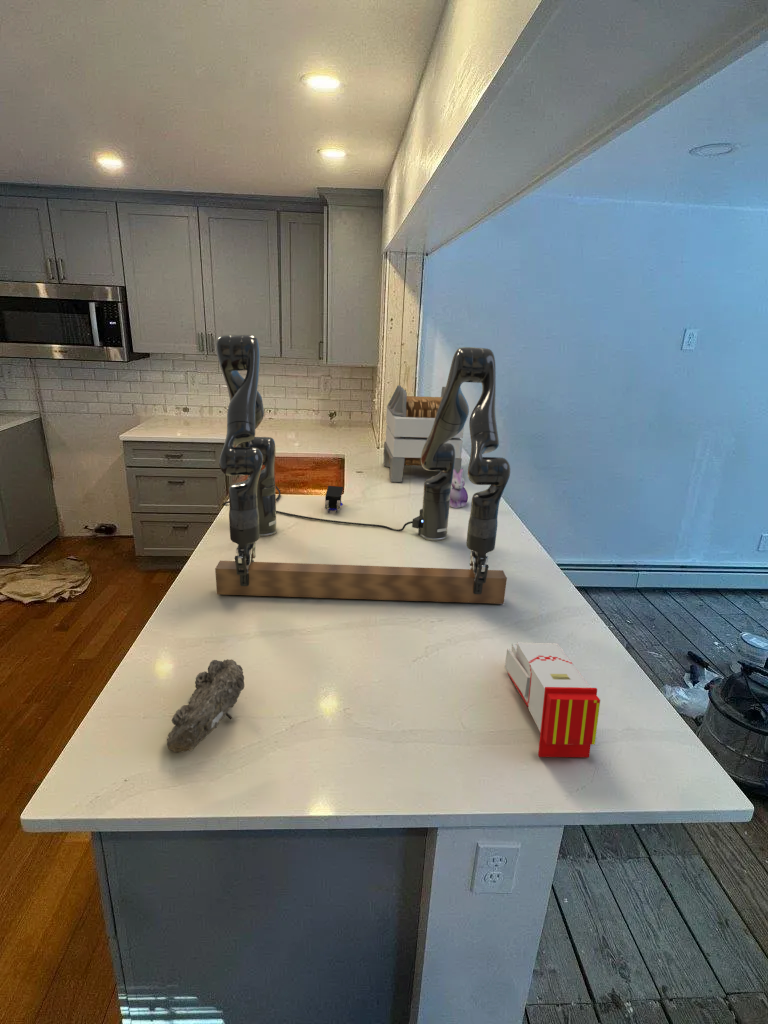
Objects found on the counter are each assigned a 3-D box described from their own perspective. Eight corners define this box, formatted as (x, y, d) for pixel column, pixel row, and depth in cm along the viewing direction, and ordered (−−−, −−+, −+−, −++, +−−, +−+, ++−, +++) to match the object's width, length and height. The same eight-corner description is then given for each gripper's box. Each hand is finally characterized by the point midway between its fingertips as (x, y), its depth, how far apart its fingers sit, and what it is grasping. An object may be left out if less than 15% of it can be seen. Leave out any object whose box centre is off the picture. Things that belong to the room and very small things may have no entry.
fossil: (192, 660, 117) (244, 628, 112) (224, 691, 120) (276, 661, 115) (142, 746, 98) (202, 712, 93) (182, 779, 101) (242, 748, 96)
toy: (553, 625, 127) (610, 695, 97) (548, 680, 129) (601, 765, 100) (500, 624, 126) (540, 694, 97) (495, 679, 129) (533, 764, 100)
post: (499, 595, 158) (503, 570, 156) (503, 603, 154) (507, 578, 151) (221, 585, 156) (219, 560, 154) (216, 594, 152) (215, 568, 149)
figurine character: (341, 518, 215) (343, 501, 228) (341, 500, 212) (343, 484, 225) (323, 518, 215) (326, 501, 228) (323, 500, 211) (326, 484, 225)
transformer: (382, 463, 289) (386, 382, 275) (445, 464, 293) (451, 384, 279) (390, 482, 257) (394, 392, 243) (460, 483, 261) (468, 394, 247)
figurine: (454, 509, 226) (458, 473, 221) (440, 502, 235) (443, 467, 229) (474, 507, 230) (477, 471, 225) (459, 499, 239) (463, 465, 234)
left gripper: (236, 512, 154) (239, 568, 160) (222, 532, 141) (226, 593, 146) (264, 513, 154) (265, 569, 160) (253, 533, 141) (255, 594, 147)
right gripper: (464, 520, 156) (458, 576, 161) (472, 541, 142) (465, 601, 148) (491, 521, 156) (484, 577, 162) (501, 542, 142) (494, 602, 148)
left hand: (247, 580), depth 153 cm, fingers closed on post, 5 cm apart
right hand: (475, 588), depth 155 cm, fingers closed on post, 5 cm apart
